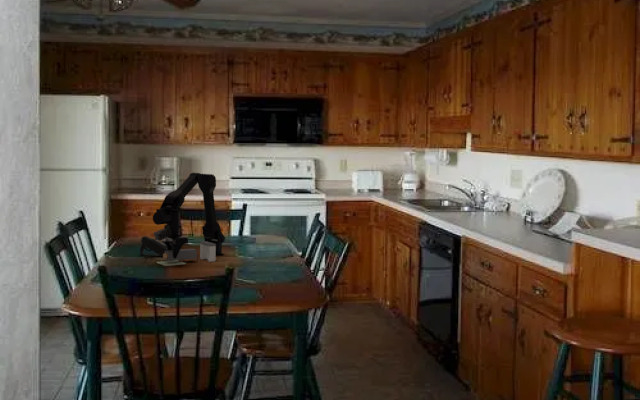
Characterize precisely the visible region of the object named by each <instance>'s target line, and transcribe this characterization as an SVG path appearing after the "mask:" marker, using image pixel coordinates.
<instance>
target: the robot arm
mask: <svg viewBox="0 0 640 400" xmlns="http://www.w3.org/2000/svg"><path fill="white" fill-rule="evenodd" d="M196 185H198V188H199V190H200V192H202V198H203V199H202V200H203V205H204V206H203V207H204V215H205V216H204V217H205V223H204V225H202V227H201V229H202V235H203V240H204V241H207V242H210V243H214V244H216V256H220V255H224V253H223V251H222V250H223V247H222V246H223V243H225V242H226V241H225V240H226V236H225V235H224V234H223V232H222V229H221V225H220V224H219V222H218V220H217V217H216V215H217V214H216V206H215V205H216V204H215V197H214V195H215V194H214V191H215V189H216V187H217V178H216V176H215V175H214V174H212V173H211V174H210V173H200V172H191V173H190V174H189V176H188V177H187V178H186V179H185V180H184V181H183V182H182V183H181V184H180V186H178V187H177V188H176V189H175V190H172V191H170V192H169V193H168V194H166V195H165V197H164V199H163V201H162V204H161V205H160V208H156V211H155V212H154V213H153V215H152V222H153V223H154V224H155V225H156V226H158V225H159V226H160V225H163V228H162V229H159V230H157V231H155V232H153V236H154V238H155V240H157V241H159V242H160V241H161V243H162V244H164V245H165V246H166V248H167V251H168V250H173V258H176V257H177V255H178V253H179V251H180V250H181V249H182V248H183V246H184V245H186V244H189V238H188V237H186V236H182V234H180V229H182V225H181V224H180V222H181V221H180V219H181V217H180V216H181V213H183V212H184V210H182V209H181V207H182V206H183V205H184V203H185V198H186V196H187V195H188V194H189V193H190V192H191V191H192V189H194V188H195V187H196Z"/></svg>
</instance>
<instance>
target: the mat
mask: <svg viewBox="0 0 640 400" xmlns="http://www.w3.org/2000/svg"><path fill="white" fill-rule="evenodd" d="M155 263H156V264H159V265H162V266H164V267H168V266H170V267H171V266H179V265H187V262H184V261H182V260H174V261H167V260H162V261H156V262H155Z"/></svg>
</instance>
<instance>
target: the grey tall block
mask: <svg viewBox="0 0 640 400" xmlns="http://www.w3.org/2000/svg"><path fill="white" fill-rule="evenodd" d="M197 250H198V249H196V248H183V249H182V248H181V249H180V251H179V253H178V255H177V257H176V258H173V250H168V251H165V253H164V254H163V257H162V258H163V259H164V261H174V260H178V261H183V260H184V261H185V260H194V259H197V258H198V257H197V255H198V254H197V253H198V251H197Z"/></svg>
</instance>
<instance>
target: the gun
mask: <svg viewBox="0 0 640 400" xmlns="http://www.w3.org/2000/svg"><path fill="white" fill-rule="evenodd" d="M140 242H141V246H140V250H139V253H140V254H139V255H140V256H141V257H143V256H144V251H145V250H146V251H147V252H154V253H155V254H157V255H158V256H160V257H162V258H163V254H164V253H165V251H167V248H166V245H165V244H164V243H163V242H162V241H161V242H160V241H159V240H156V239H154V238H151V237H148V236H142V237H141V239H140Z"/></svg>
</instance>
